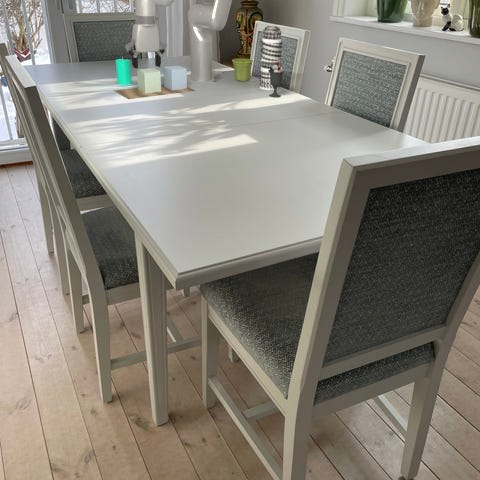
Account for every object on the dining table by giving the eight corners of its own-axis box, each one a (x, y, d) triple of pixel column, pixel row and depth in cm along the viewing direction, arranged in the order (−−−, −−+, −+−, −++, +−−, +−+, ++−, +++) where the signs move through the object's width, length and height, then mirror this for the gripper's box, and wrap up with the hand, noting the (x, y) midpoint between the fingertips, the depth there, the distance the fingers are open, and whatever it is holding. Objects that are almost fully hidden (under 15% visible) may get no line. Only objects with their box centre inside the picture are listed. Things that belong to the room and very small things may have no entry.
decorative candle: (276, 91, 219) (280, 29, 207) (255, 89, 222) (258, 27, 209) (281, 87, 227) (286, 26, 214) (262, 84, 229) (265, 24, 217)
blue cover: (178, 84, 219) (178, 65, 215) (186, 88, 215) (186, 68, 211) (164, 86, 216) (163, 66, 212) (172, 90, 211) (171, 70, 207)
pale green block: (153, 87, 213) (152, 67, 209) (161, 91, 208) (160, 71, 204) (137, 89, 210) (136, 69, 206) (145, 93, 205) (144, 72, 201)
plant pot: (237, 83, 230) (238, 63, 226) (228, 78, 238) (228, 59, 233) (255, 81, 234) (256, 61, 230) (245, 77, 242) (246, 57, 237)
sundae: (284, 95, 215) (287, 57, 207) (280, 98, 209) (283, 60, 202) (269, 93, 216) (271, 56, 209) (264, 96, 211) (267, 58, 203)
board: (178, 85, 223) (178, 81, 222) (196, 93, 212) (196, 89, 211) (113, 93, 208) (113, 89, 207) (128, 101, 197) (128, 97, 196)
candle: (130, 87, 216) (128, 58, 210) (116, 87, 216) (113, 57, 210) (133, 84, 222) (131, 55, 216) (119, 83, 221) (116, 54, 216)
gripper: (161, 19, 203) (162, 64, 211) (120, 19, 194) (122, 66, 202) (170, 21, 198) (170, 67, 206) (128, 22, 189) (130, 70, 197)
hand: (146, 67), depth 204 cm, fingers open, 9 cm apart
